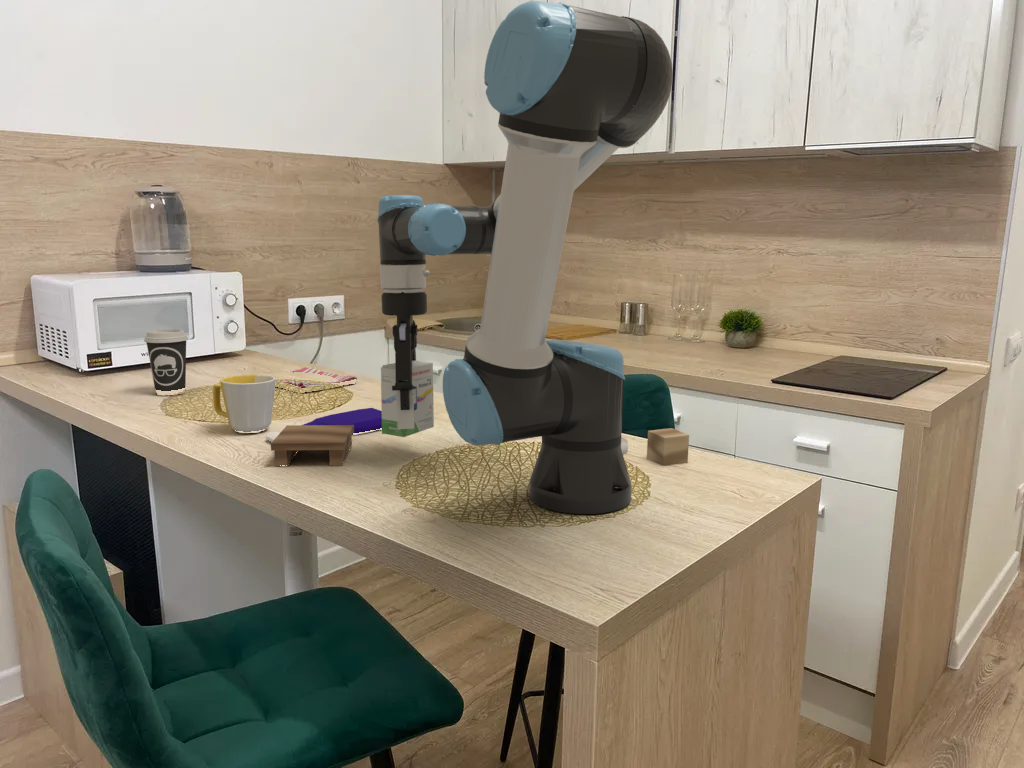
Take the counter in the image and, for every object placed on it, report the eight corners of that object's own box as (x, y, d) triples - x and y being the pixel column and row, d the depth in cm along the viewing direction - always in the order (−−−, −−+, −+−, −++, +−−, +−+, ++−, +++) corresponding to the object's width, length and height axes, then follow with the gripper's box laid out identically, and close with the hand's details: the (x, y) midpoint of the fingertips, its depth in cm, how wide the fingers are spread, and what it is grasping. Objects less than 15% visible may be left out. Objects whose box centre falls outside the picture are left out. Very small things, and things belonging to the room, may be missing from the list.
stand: (345, 465, 128) (344, 442, 127) (272, 466, 127) (270, 443, 127) (354, 446, 140) (354, 424, 139) (287, 446, 139) (286, 425, 138)
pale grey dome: (632, 458, 135) (632, 447, 135) (581, 458, 134) (582, 447, 134) (621, 444, 144) (622, 434, 143) (574, 444, 143) (574, 434, 143)
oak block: (687, 463, 132) (689, 435, 131) (663, 466, 130) (664, 437, 129) (670, 455, 136) (671, 428, 135) (646, 458, 134) (647, 430, 133)
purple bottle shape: (369, 405, 161) (256, 426, 145) (398, 415, 153) (283, 438, 137) (369, 419, 161) (257, 441, 145) (398, 429, 153) (284, 454, 137)
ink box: (412, 424, 137) (410, 359, 135) (435, 428, 134) (434, 361, 132) (380, 434, 130) (377, 365, 128) (404, 438, 127) (401, 367, 125)
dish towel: (303, 396, 184) (302, 382, 183) (249, 384, 198) (248, 370, 197) (359, 386, 196) (359, 372, 196) (305, 375, 211) (304, 362, 210)
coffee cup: (200, 392, 185) (196, 330, 182) (164, 399, 177) (159, 335, 174) (176, 387, 190) (171, 327, 187) (140, 394, 182) (134, 331, 179)
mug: (289, 429, 151) (286, 377, 149) (244, 440, 143) (241, 385, 141) (246, 419, 159) (243, 369, 157) (202, 429, 151) (198, 377, 149)
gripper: (423, 294, 117) (427, 436, 121) (429, 287, 139) (432, 408, 143) (373, 294, 117) (379, 437, 121) (387, 288, 139) (391, 409, 143)
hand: (408, 421), depth 132 cm, fingers closed on ink box, 9 cm apart
